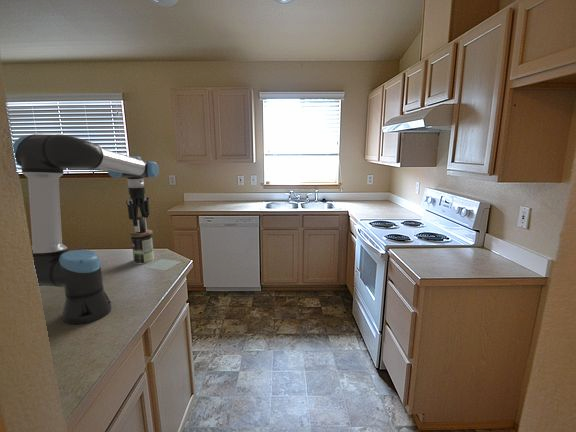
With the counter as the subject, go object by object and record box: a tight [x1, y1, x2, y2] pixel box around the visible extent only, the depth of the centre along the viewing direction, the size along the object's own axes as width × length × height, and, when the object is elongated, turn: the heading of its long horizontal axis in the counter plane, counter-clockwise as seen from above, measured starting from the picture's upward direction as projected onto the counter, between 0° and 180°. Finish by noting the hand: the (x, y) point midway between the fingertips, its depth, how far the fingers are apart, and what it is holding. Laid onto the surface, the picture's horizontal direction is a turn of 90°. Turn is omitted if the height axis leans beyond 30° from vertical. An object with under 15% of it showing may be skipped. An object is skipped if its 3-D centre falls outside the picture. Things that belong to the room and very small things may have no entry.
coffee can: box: [130, 234, 155, 265], centre depth 166 cm, size 10×10×14 cm
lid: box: [129, 216, 154, 238], centre depth 164 cm, size 11×11×9 cm
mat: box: [144, 258, 182, 271], centre depth 162 cm, size 13×13×1 cm
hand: (141, 230), depth 164 cm, fingers closed on lid, 4 cm apart
